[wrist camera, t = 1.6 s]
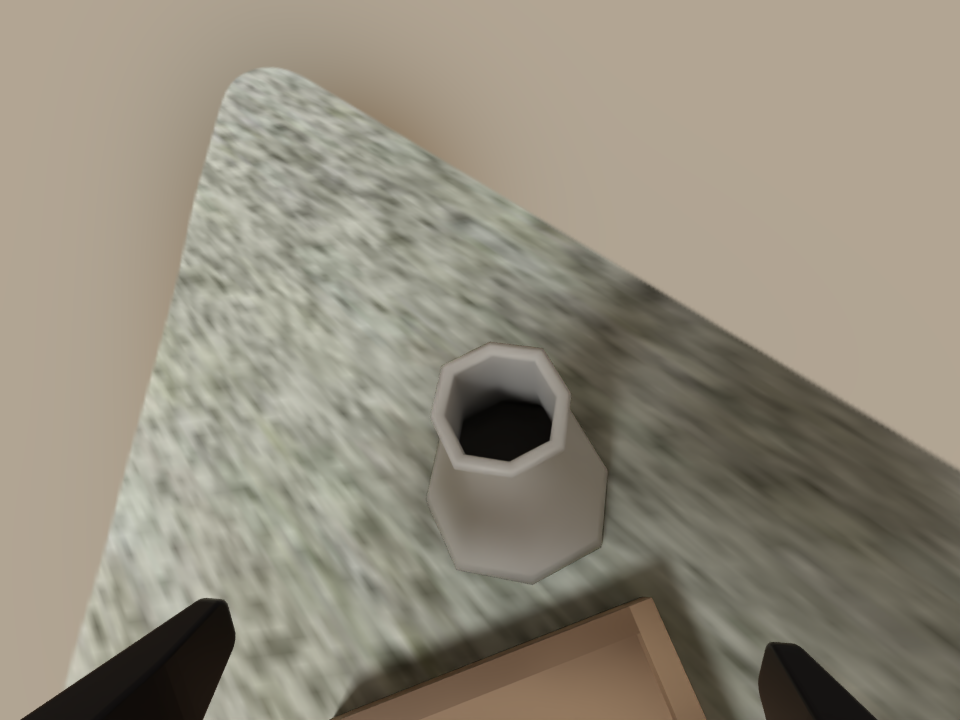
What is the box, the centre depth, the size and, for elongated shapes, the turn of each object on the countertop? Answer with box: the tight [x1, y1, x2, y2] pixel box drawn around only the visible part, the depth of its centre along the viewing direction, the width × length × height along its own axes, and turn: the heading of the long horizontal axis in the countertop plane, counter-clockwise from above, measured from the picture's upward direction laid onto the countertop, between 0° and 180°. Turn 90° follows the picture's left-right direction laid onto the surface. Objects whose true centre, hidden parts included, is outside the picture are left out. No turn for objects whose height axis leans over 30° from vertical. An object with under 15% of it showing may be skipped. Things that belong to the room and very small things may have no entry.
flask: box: [426, 342, 608, 585], centre depth 16 cm, size 7×7×10 cm
